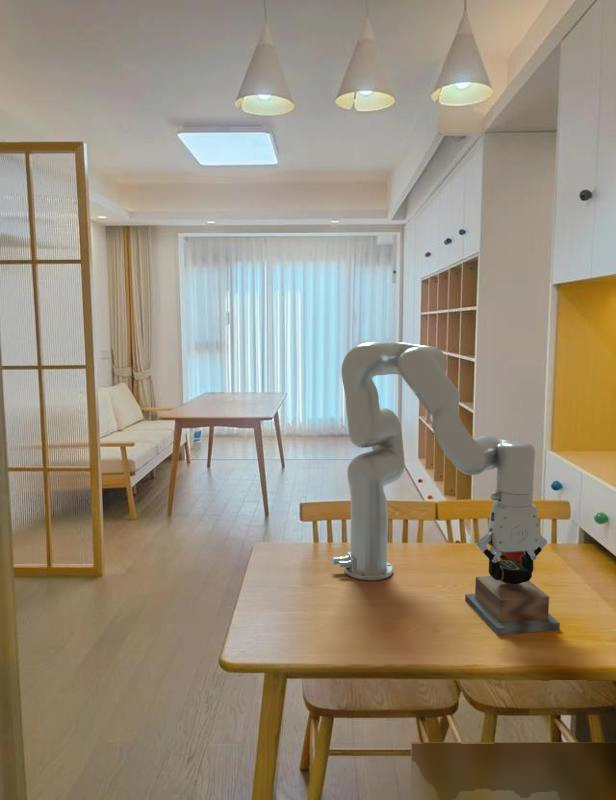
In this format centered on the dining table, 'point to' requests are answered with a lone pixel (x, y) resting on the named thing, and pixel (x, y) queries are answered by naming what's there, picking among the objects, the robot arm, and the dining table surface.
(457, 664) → the dining table surface
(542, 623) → the plinth
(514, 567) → the tape measure
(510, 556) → the kendama
